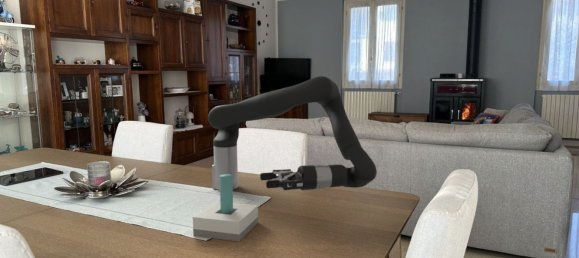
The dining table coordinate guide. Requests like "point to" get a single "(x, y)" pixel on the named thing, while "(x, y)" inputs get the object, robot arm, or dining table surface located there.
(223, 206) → the pin
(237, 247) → the dining table surface
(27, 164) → the dining table surface
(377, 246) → the dining table surface
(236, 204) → the block
